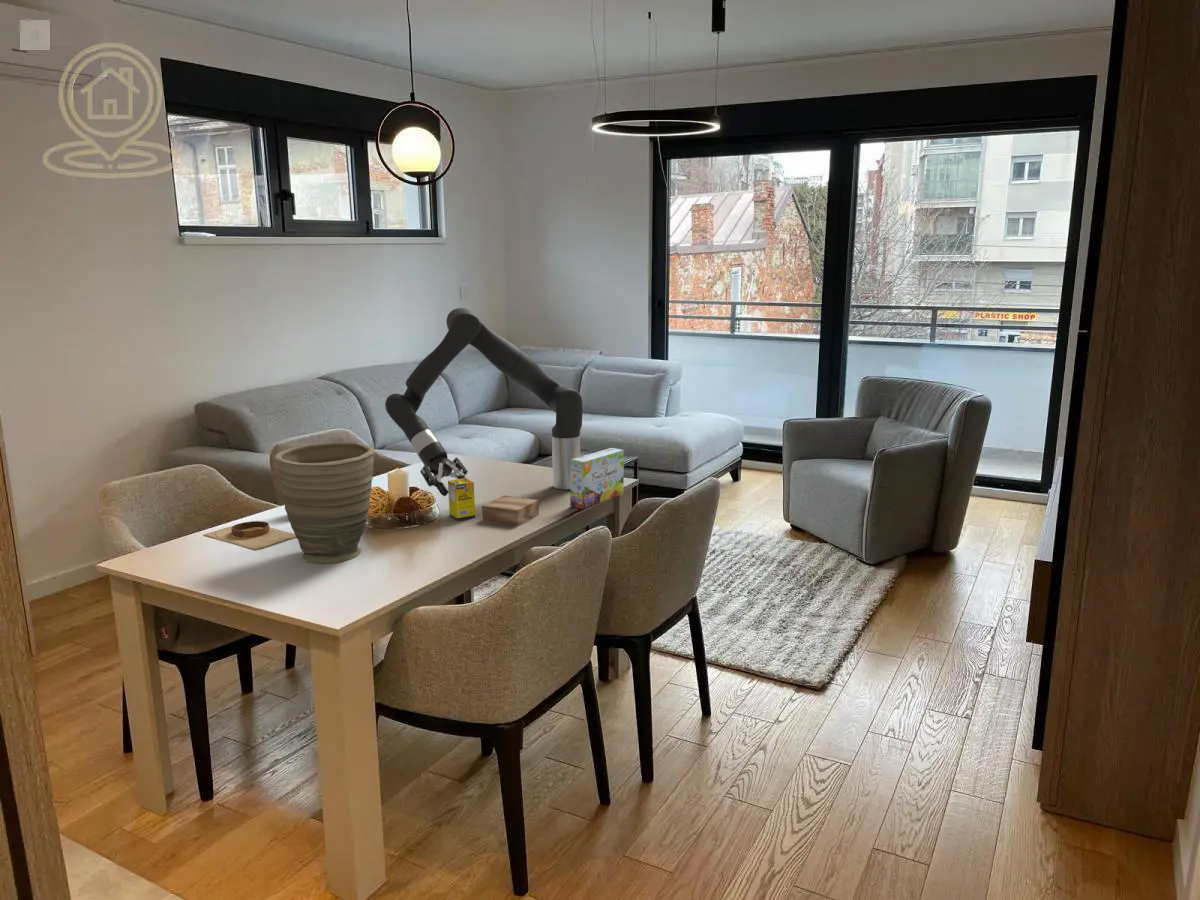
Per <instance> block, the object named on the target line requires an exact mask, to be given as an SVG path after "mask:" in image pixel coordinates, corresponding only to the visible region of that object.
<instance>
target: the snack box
mask: <svg viewBox="0 0 1200 900" xmlns="http://www.w3.org/2000/svg"><path fill="white" fill-rule="evenodd" d="M624 466H625V449H620V448H614V447H609V448H606V449H603V450H599V451H596V452H593V453H589V454H585V455H580V457H578V458H574V459H571V460H570V489H569V490H570V491H569V495H570V497H569V499H570V501H569V502H570V503H569V504H570V505H569V506H570V507H573V508H577V509H580V510H585V509H586V508H589V507H592V506H595V505H598V504H600V503H604V502H606V501H609V500H611V499H614V498H618V497H620V496H623V495H624V481H625V480H624V478H625V477H624V476H625V475H624V469H625V467H624Z"/></svg>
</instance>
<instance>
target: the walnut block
mask: <svg viewBox="0 0 1200 900" xmlns="http://www.w3.org/2000/svg"><path fill="white" fill-rule="evenodd" d="M539 501H540V499H534V498H526V497H519V496H518V497H517V496H512V495H502V496H499V497H498V498H496V499H493V500H490V501H489V502H487V503H485V504H482V505H481V515H482V517H481V519H482V520H481V521H482V522H487V523H492V524H493V523H494V524H500V525H506V526H515V527H519V526H521V525H523V524H524V523H526V522H529V521H531V520H532V519H534V518H536V517H539V516H540V507H539V505H540V504H539V503H540V502H539Z"/></svg>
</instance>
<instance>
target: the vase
mask: <svg viewBox="0 0 1200 900" xmlns="http://www.w3.org/2000/svg"><path fill="white" fill-rule="evenodd" d="M374 453H375V448H374V447H372V446H370V445H368V444H365V443H359V442H353V441H352V442H351V441H350V442H319V443H314V444H307V445H301V446H296V447H292V448H289V449H285V450H282V451H280V452H278V453H277V454H275V455H274V458H275V459H274V460H275V467H276V471H277V476H278V478H279V482H280V492H281V494H282V497H283V501H284V510H285V512H286V516H287V520H288V522H289V524H290V527H291V530H292V531H293V534H295V535H296V537H297V538H296V539H297V541H298V545H299V546H300V549H301V551H302V553H303V554H302V555H301V558H302V559H303V560H304V561H305V562H307V563H310V564H311V563H312V564H333V563H341V562H345V561H349V560H352V559H355V558H356V557H358V556H359V555H360V554H361V552H362V550H361V549H362V548H360V547H359V543H360V542H361V538H362V535H363V534H364V532H365V529H366V524H367V522H368V517H369V511H370V510H369V509H370V507H371V504H370V498H371V489H372V486H373V485H372V482H373V478H374V477H373V476H374V475H373V473H374V464H375V461H374V460H375V458H374V457H375V455H374Z"/></svg>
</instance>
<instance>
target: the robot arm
mask: <svg viewBox="0 0 1200 900" xmlns="http://www.w3.org/2000/svg"><path fill="white" fill-rule="evenodd" d="M446 327H447V330H448V331H447V332H446V335H445V336H444V337H443V339H442V341H441V342H440V343H439V344H438V346H436V348H434V349H433V351H431V352H430V353H429V354H428V355H426V357H424V358H423V359H422V360H421V361H420V362H419V364H417V366H416V367H415V368H414V369H413V371H412V373H411V374H410V375H409V376H408V377H407V379H406V381H405V386H406V389H405V392H404V393H403V394H401V393H392V394H390V395H388V396H387V397H386V399H385V401H384V402H385V404H384V406H385V410H386V413H387V414H388V416H389V417H390V419H392V421H394V423H395V424H396V425H397V426H398V427H399V428H400V429H401V431H403V433H404V435H405V437H406V438H407V439H408V441H409V443H410V444H411V446H412V447H413V450H414V452H415V453H416V454H417V456H418V458H419V459H420V461H421V463H422V464H423V467H422V468H421V469H420V470H419V472H420V474H421V475H422V477H423V479H424V480H425V482H426V484H427V486H428V487H432V486H433V487H435V488H436V489H437V490H438V492H439V493H440V495H441V496H443V497H446V496H448V495H449V493H448V487H447V486H446V485H445V484H444V483H443V481H442V479H443V478H445V477H450V478H455V480H457V479H463V478H466V476H467V474H468V470H467V468H466V467H465V466H464V464H463V463H462V461H461V460H460V459H459V457H457V456H456V457H455V458H454V459H452V460H451V459H450V458H448V453H447V451H446V450H445V447H444V446H443V445H442V444H441V442H440V440H439V439H438V437H437V435H435V433H433V431H432V430H431V429H430V427H429V426H428V425H427V423H426V422H425V420H424V419H423V418H422V417H421V416H420V415H418V414H417V412H418V410H419V409H420V406H421V405H422V403H423V401H424V398H425V396H426V393H428V391H429V390H430V389H431V387H432V386H433V385H434V384H435V382H436V381H437V380H438V379H439V378H440V375H441V374H442V373H443V372H444V371H445V370H446V368H447V367H448V366H449V365H450V364H451V362H452V361H453V360H454V359H455V358H456V357H457V356H458V355H459V354H460V353H461V352H462V351H463V350H464V349H465V348H466V347H467V346H468V345H471V346H472V347H473V348H475V349H476V350H478V351H479V352H480V353H481V354H482V355H483V356H484V357H485V358H486V359H487V360H488V361H489V362H490V363H491V364H492V365H493V366H494V367H495V368H496V369H498V370H499V371H500V372H501V373H502V374H503V375H505V376H506V377H507V378H509V379H511V380H512V381H513V382H515V383H517V385H520V386H522V387H523V388H525V389H526V390H528V391H529V392H531V393H533V394H534V395H536V397H538V398H539V399H540V400H541V401H542V402H543V403H544V404H545V405H546V406H547V407H549V409H550V410H551V411H553V413H555V425H554V426H553V427H552V428H551V447H552V448H551V452H552V456H551V457H552V459H551V460H552V487H553V488H554V489H556V490H557V489H558V490H563V491H564V490H567V491H568V490H570V460H571V459H574V458H578V457H581V429H582V426H583V399H582V395H581V394H580V393H579V391H577V390H576V389H574V388H572V387H569V386H566V385H564V384H561V383H560V382H558V381H556V380H554V379H553V378H551V377H550V376H549V375H547V374H546V373H545V372H544V371H543V370H542V368H541V367H540V366H539V365H538V363H537V362H536V361H535V360H534V359H533V358H532V357H531V356H529V355H528V354H527V353H526V352H524V350H522V349H521V348H519V347H517V346H516V345H515V344H514V343H512V342H510V341H508V340H507V339H506V338H504V337H502V336H500V335H499V334H497V333H495V332H494V331H492V329H489V327H487V326H486V325H485V324H484V323H483V321H481V320H480V319H479V318H478V316H477V315H476V314H475V313H474V312H473V311H471V310H470V309H467V308H463V307H458V308H457V307H456V308H454V309H452V310H451V311H450V312H449V313H448V314H447V317H446Z"/></svg>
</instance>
